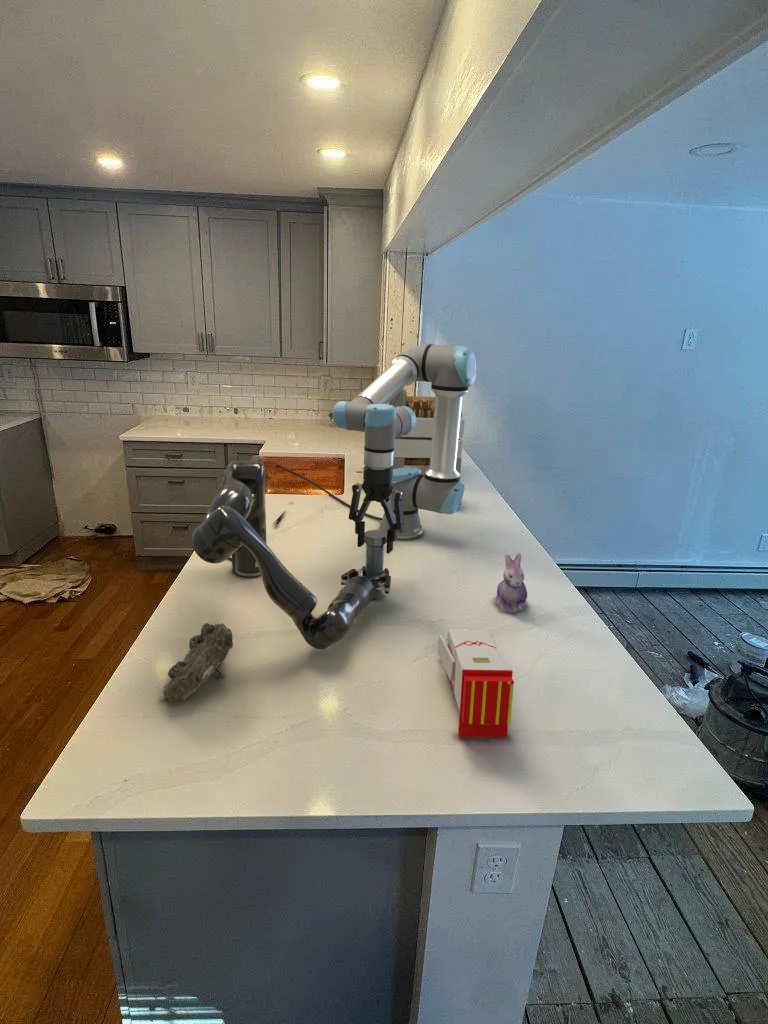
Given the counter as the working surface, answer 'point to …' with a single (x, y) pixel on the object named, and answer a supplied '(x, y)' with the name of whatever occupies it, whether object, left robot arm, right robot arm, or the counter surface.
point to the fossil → (199, 661)
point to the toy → (478, 682)
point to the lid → (375, 538)
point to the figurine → (512, 586)
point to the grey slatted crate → (419, 433)
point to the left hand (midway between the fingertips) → (377, 569)
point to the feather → (278, 519)
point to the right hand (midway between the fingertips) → (375, 548)
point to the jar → (374, 563)
